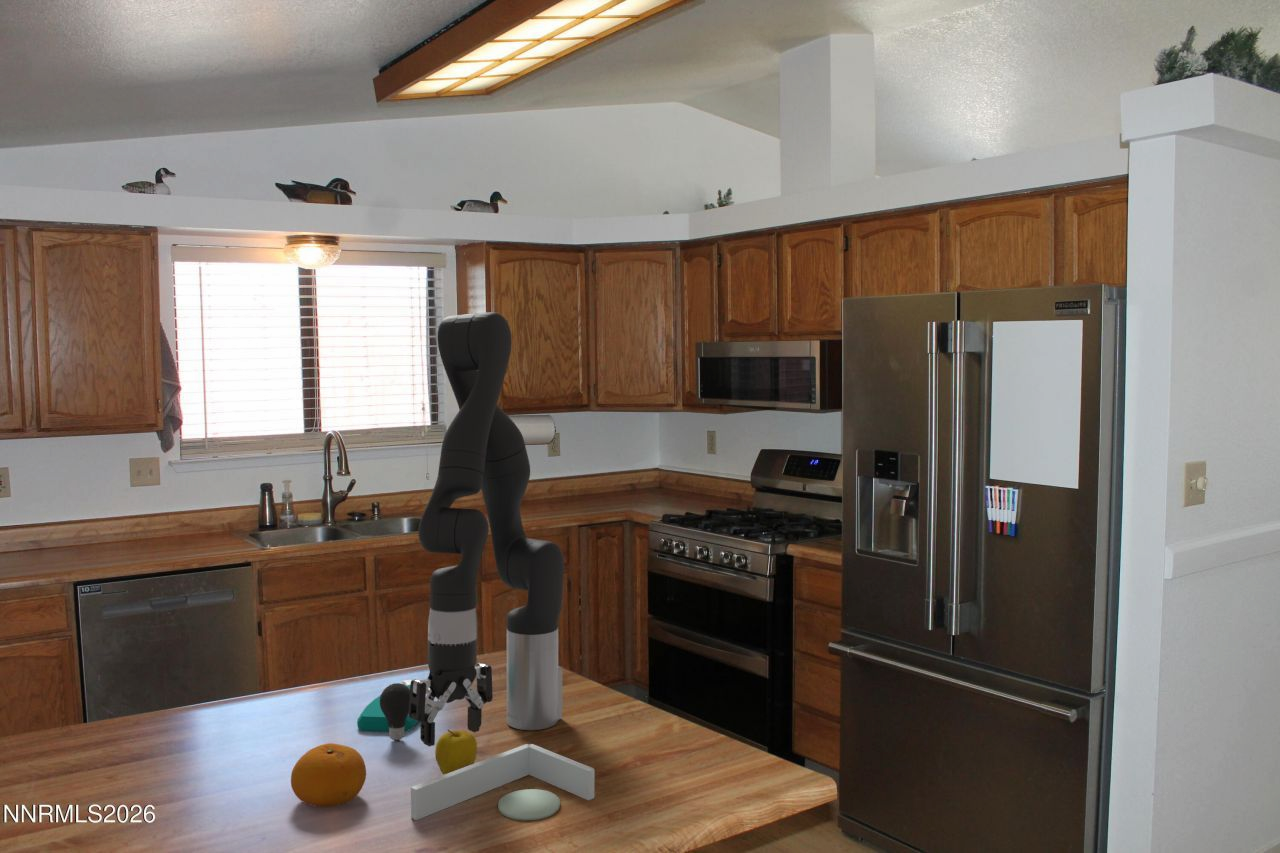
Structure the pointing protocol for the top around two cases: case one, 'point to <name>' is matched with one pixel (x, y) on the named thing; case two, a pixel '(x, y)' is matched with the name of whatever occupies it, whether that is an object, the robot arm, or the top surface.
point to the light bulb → (395, 708)
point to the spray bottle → (380, 717)
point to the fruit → (328, 775)
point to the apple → (455, 751)
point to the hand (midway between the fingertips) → (451, 737)
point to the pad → (529, 804)
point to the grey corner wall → (501, 778)
